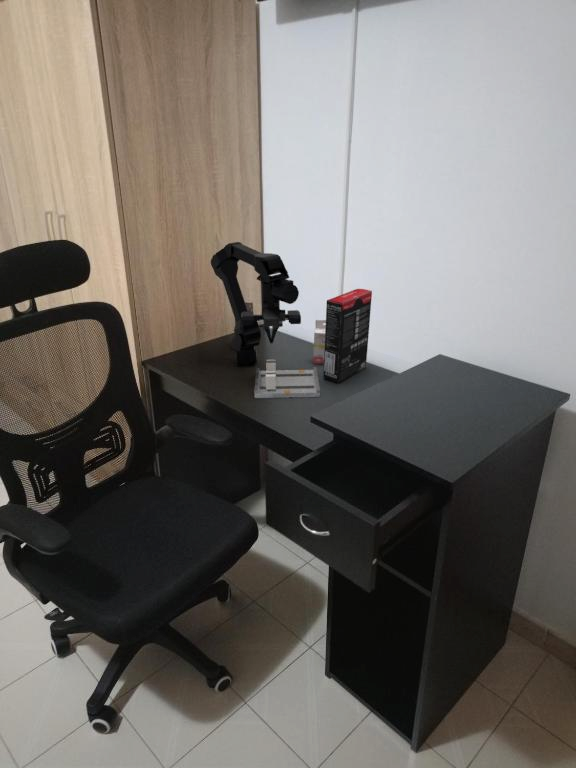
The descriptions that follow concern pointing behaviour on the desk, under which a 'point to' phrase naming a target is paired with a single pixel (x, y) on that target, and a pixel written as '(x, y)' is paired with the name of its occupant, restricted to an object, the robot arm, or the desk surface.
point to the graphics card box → (346, 334)
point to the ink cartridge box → (319, 342)
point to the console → (288, 384)
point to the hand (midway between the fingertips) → (271, 342)
